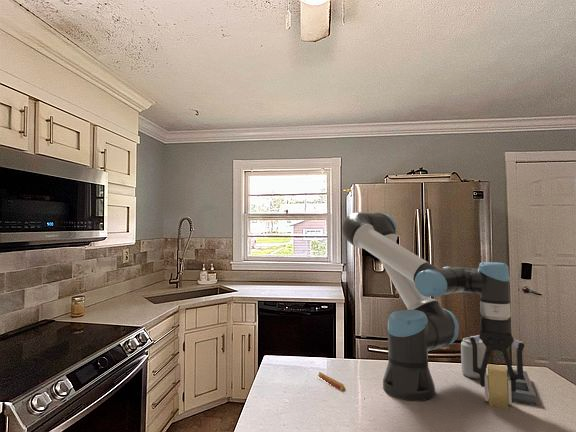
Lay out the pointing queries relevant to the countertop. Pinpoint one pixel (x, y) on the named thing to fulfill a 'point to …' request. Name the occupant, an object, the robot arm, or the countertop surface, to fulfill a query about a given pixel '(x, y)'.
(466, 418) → the countertop surface
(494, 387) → the brass block
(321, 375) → the chocolate bar
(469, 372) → the can
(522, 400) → the rack
